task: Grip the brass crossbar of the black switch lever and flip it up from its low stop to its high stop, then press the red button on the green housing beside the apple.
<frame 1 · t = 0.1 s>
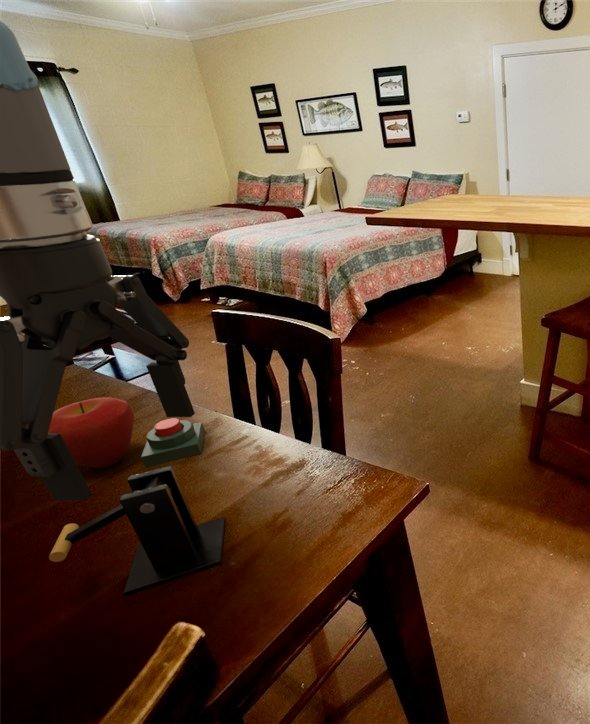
hand: (134, 451, 48), 22 cm above the table, tool pointing down, fingers open, 13 cm apart
button: (168, 427, 83), point 4 cm above the table, slide at 0.1 cm
button box: (177, 448, 85), on the table
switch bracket: (181, 557, 63), on the table
lever: (112, 515, 57), point 9 cm above the table, hinge at -20.0°
apple: (108, 462, 82), on the table
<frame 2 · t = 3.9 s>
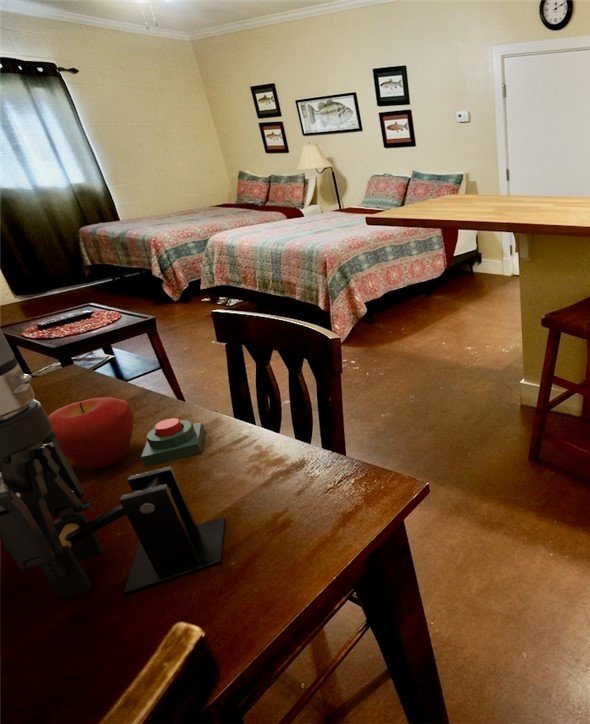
hand: (83, 573, 58), 2 cm above the table, tool pointing down, fingers closed on lever, 5 cm apart
lever: (112, 515, 57), point 9 cm above the table, hinge at -20.0°, touching gripper
everything else where it was.
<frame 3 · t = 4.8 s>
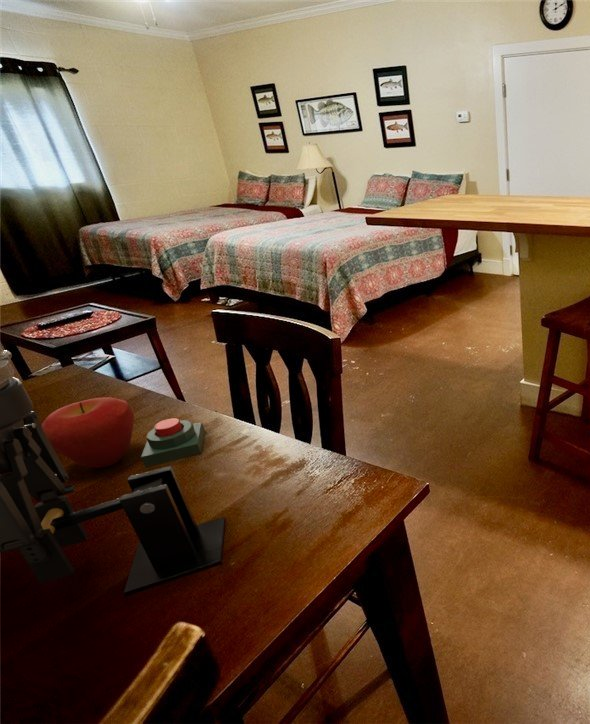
hand: (65, 558, 57), 5 cm above the table, tool pointing down, fingers closed on lever, 5 cm apart
lever: (105, 508, 57), point 11 cm above the table, hinge at -4.2°, touching gripper
everything else where it was.
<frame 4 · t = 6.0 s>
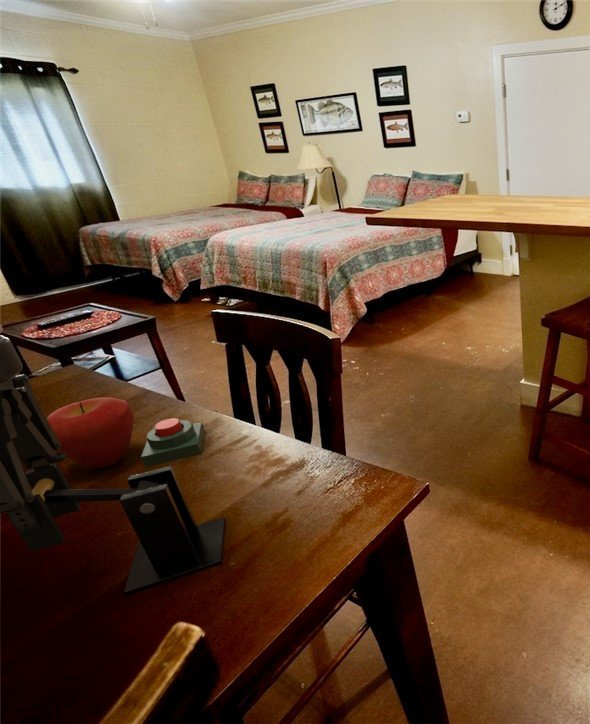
hand: (57, 527, 55), 10 cm above the table, tool pointing down, fingers closed on lever, 5 cm apart
lever: (101, 494, 56), point 13 cm above the table, hinge at 20.5°, touching gripper
everything else where it was.
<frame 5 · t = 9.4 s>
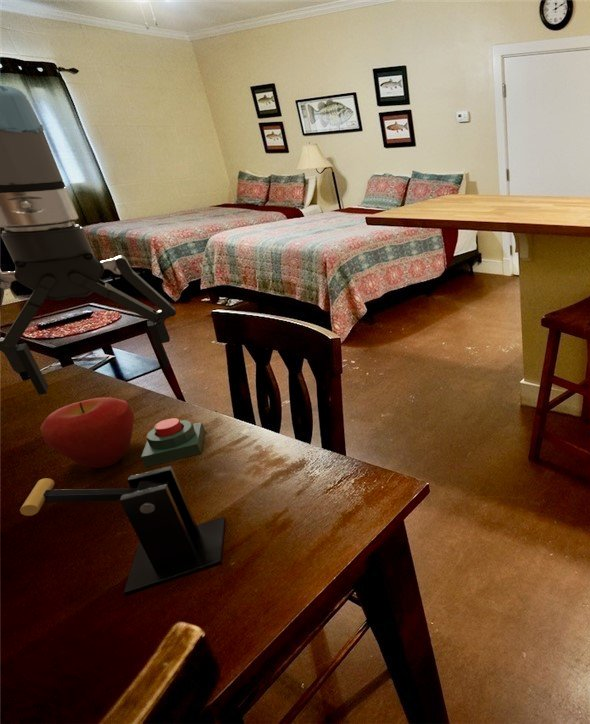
hand: (108, 376, 68), 20 cm above the table, tool pointing down, fingers open, 13 cm apart
lever: (101, 494, 56), point 13 cm above the table, hinge at 20.6°
everything else where it was.
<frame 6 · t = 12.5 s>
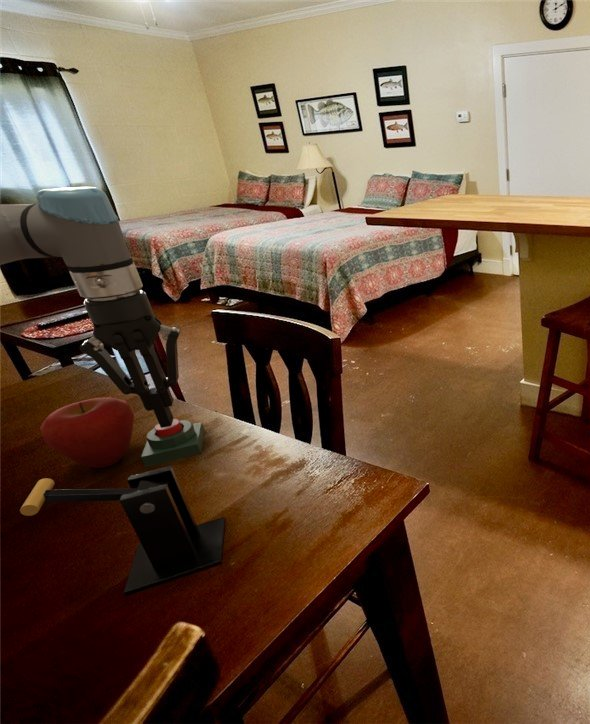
hand: (167, 422, 83), 5 cm above the table, tool pointing down, fingers closed
button: (168, 428, 83), point 4 cm above the table, slide at 0.0 cm, touching gripper
everything else where it was.
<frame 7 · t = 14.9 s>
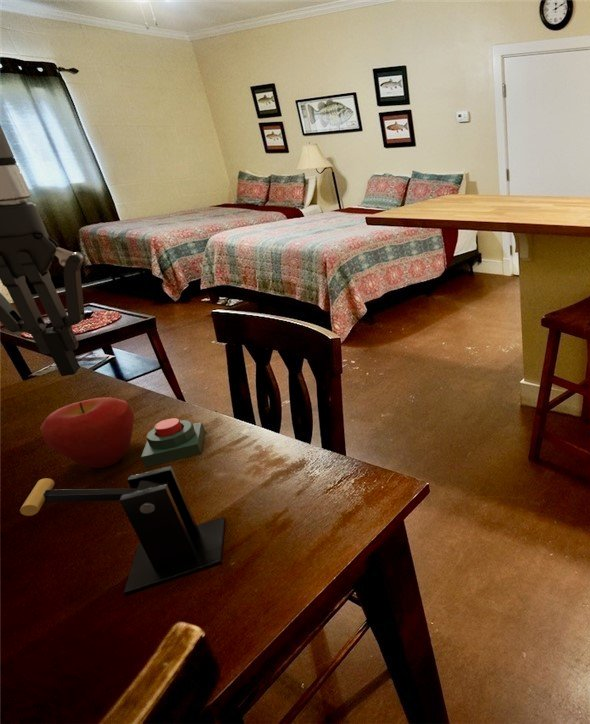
hand: (71, 371, 69), 20 cm above the table, tool pointing down, fingers closed
button: (168, 427, 83), point 4 cm above the table, slide at 0.1 cm
everything else where it was.
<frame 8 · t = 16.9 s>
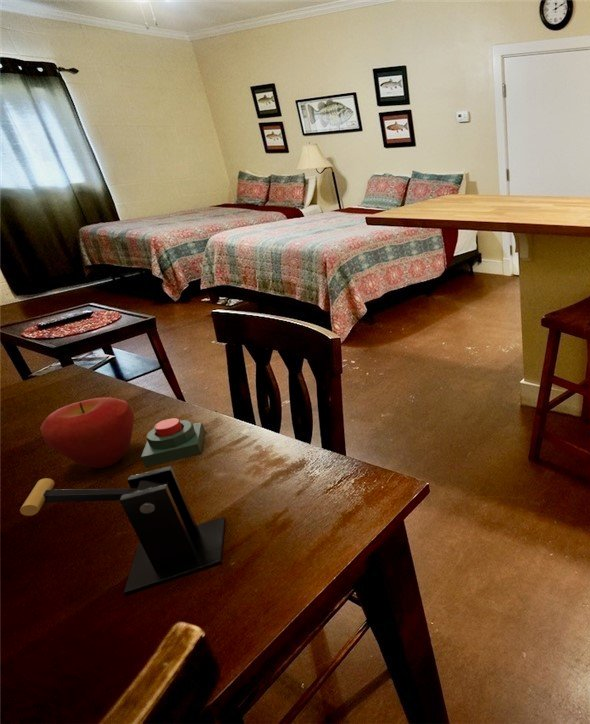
nothing on the table moved.
at the end: lever at +21° (first picture: -20°); button pushed in 1.0 cm at the most during the clip, back to where it started at the end; button slide at 0.1 cm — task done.
